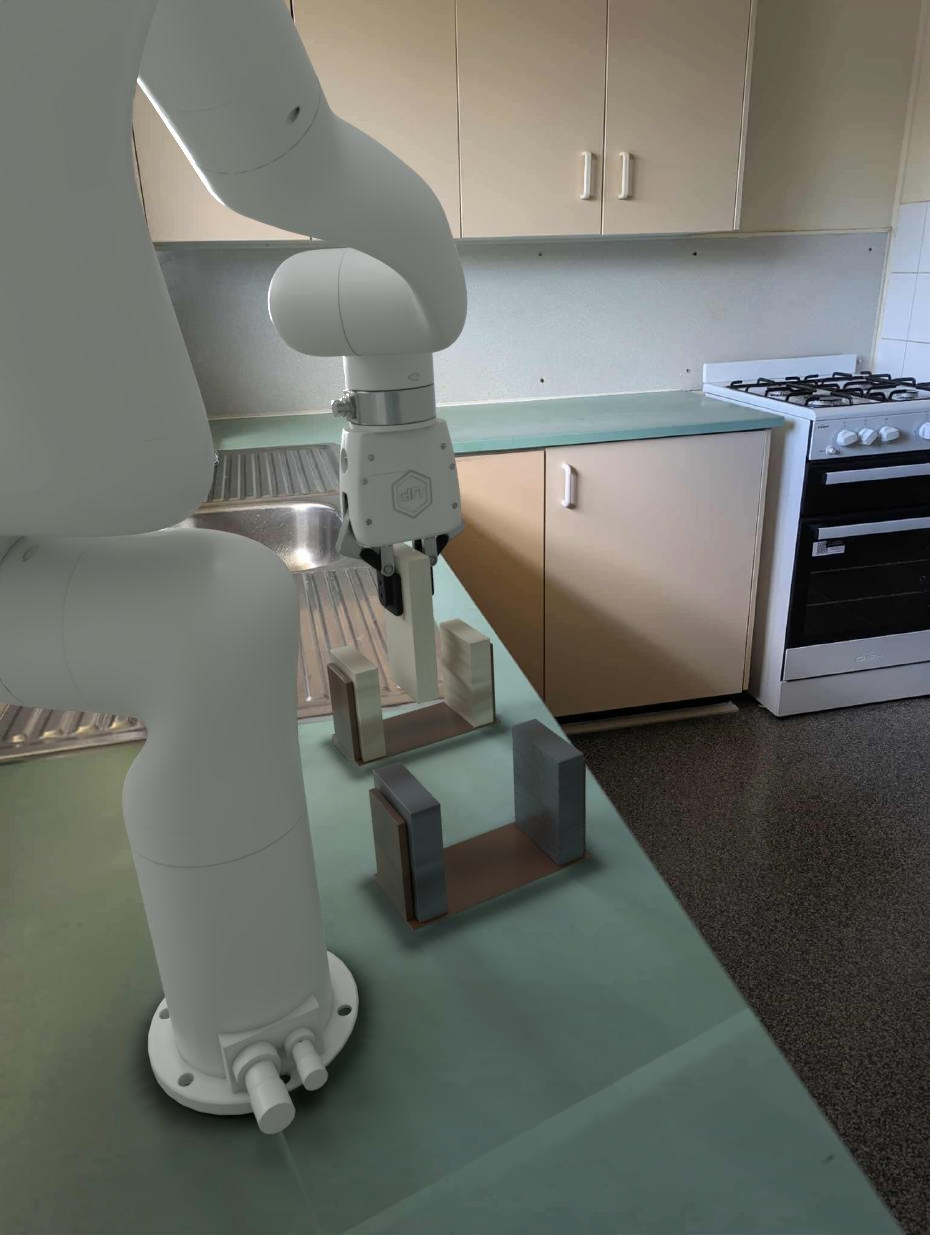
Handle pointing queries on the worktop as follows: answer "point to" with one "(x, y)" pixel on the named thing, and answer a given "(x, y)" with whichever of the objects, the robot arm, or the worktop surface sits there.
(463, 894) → the grey rack
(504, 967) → the worktop surface
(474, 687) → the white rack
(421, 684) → the white book
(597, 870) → the worktop surface
